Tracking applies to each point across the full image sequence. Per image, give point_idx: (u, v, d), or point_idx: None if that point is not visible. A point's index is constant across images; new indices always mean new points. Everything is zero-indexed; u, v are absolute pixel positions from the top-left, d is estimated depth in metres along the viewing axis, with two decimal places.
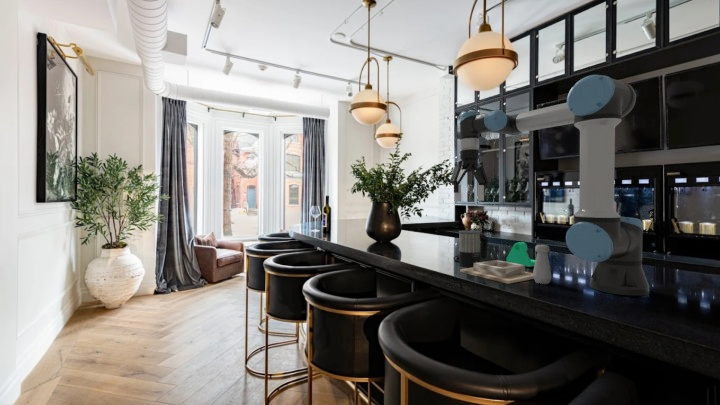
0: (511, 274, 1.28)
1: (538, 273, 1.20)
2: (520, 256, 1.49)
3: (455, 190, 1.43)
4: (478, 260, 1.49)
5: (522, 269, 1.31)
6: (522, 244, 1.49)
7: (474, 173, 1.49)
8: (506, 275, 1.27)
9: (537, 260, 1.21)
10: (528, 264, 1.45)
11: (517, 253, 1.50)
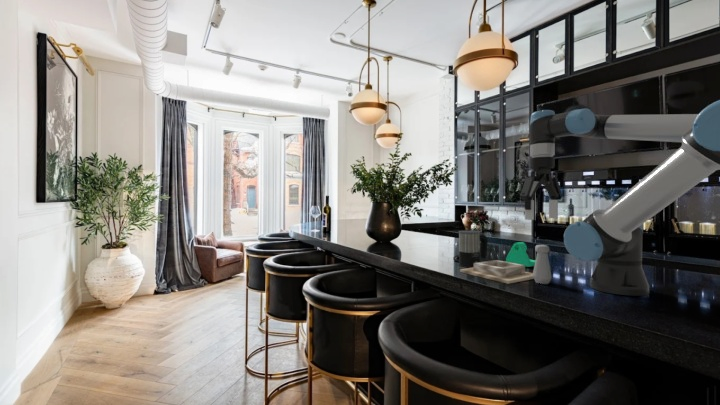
0: (511, 274, 1.28)
1: (538, 273, 1.20)
2: (519, 256, 1.49)
3: (527, 207, 1.17)
4: (478, 260, 1.49)
5: (522, 269, 1.31)
6: (521, 244, 1.49)
7: (546, 185, 1.23)
8: (506, 275, 1.27)
9: (537, 260, 1.21)
10: (527, 264, 1.45)
11: (516, 253, 1.50)
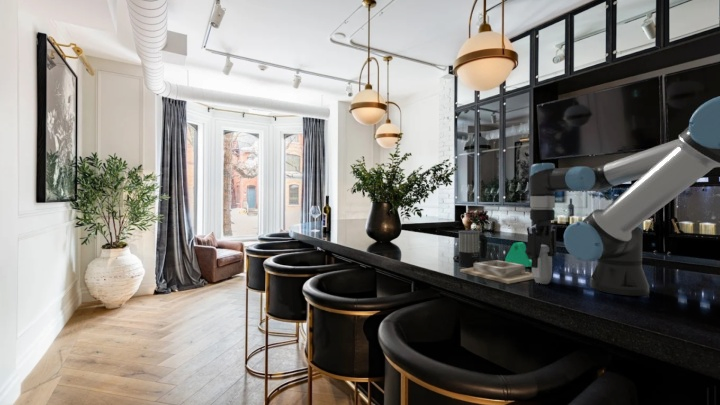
0: (511, 274, 1.28)
1: None
2: (519, 256, 1.48)
3: (534, 265, 1.19)
4: (478, 260, 1.49)
5: (522, 269, 1.31)
6: (521, 244, 1.49)
7: (544, 238, 1.23)
8: (506, 275, 1.27)
9: None
10: (526, 264, 1.45)
11: (516, 253, 1.50)
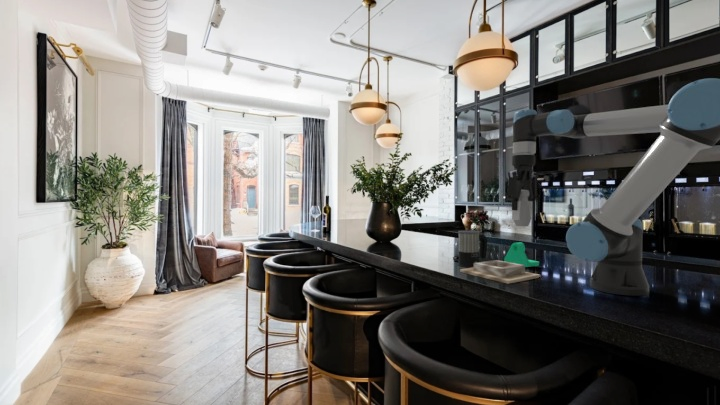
0: (511, 274, 1.28)
1: None
2: (518, 256, 1.48)
3: (514, 207, 1.24)
4: (477, 260, 1.49)
5: (522, 269, 1.31)
6: (520, 244, 1.49)
7: (525, 183, 1.28)
8: (506, 275, 1.27)
9: None
10: (525, 264, 1.45)
11: (515, 253, 1.50)
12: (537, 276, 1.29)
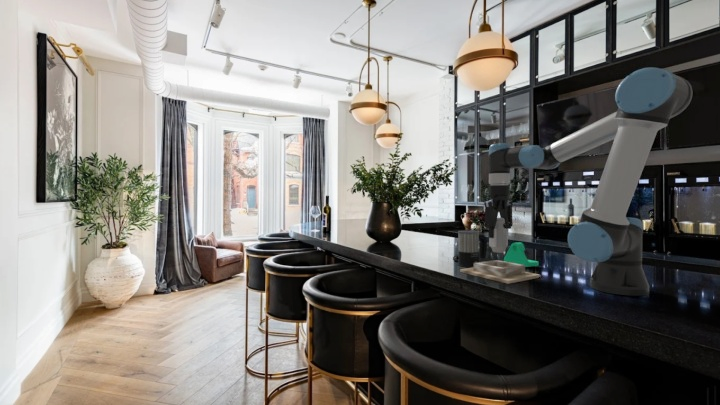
0: (511, 274, 1.28)
1: None
2: (517, 256, 1.48)
3: (490, 235, 1.32)
4: (477, 260, 1.49)
5: (522, 269, 1.31)
6: (519, 244, 1.49)
7: (501, 211, 1.35)
8: (506, 275, 1.27)
9: None
10: (525, 264, 1.44)
11: (514, 253, 1.49)
12: (537, 276, 1.29)
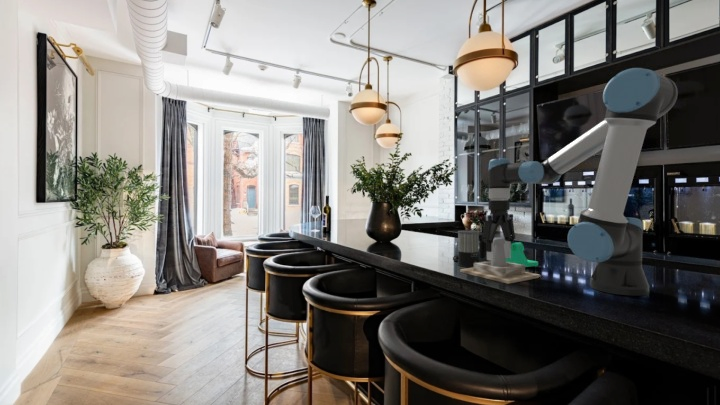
0: (511, 274, 1.28)
1: (494, 263, 1.33)
2: (517, 256, 1.48)
3: (488, 249, 1.31)
4: (477, 260, 1.49)
5: (522, 269, 1.31)
6: (519, 244, 1.48)
7: (502, 226, 1.36)
8: (506, 275, 1.27)
9: (494, 251, 1.34)
10: (524, 264, 1.44)
11: (514, 253, 1.49)
12: (537, 276, 1.29)
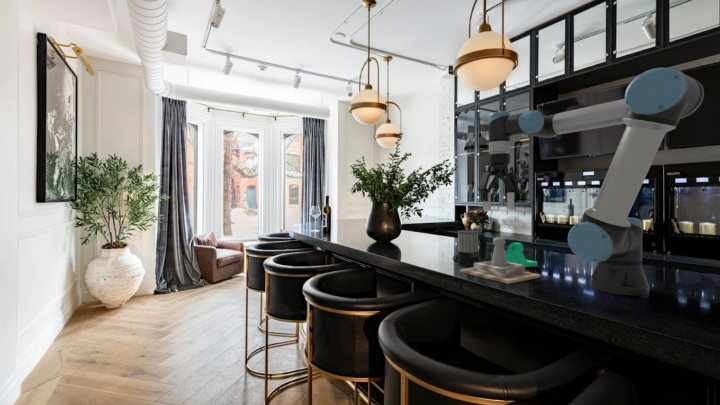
0: (511, 274, 1.28)
1: (494, 263, 1.33)
2: (516, 256, 1.48)
3: (484, 198, 1.30)
4: (477, 260, 1.50)
5: (522, 269, 1.31)
6: (518, 244, 1.48)
7: (504, 179, 1.36)
8: (506, 275, 1.27)
9: (494, 251, 1.34)
10: None
11: (513, 253, 1.49)
12: (537, 276, 1.29)
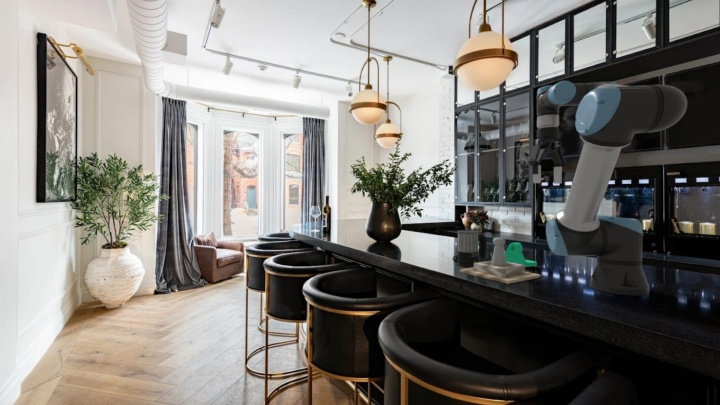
0: (511, 274, 1.28)
1: (494, 263, 1.33)
2: (515, 256, 1.48)
3: (534, 171, 1.32)
4: (476, 260, 1.50)
5: (522, 269, 1.31)
6: (517, 244, 1.48)
7: (551, 153, 1.38)
8: (506, 275, 1.27)
9: (494, 251, 1.34)
10: None
11: (512, 253, 1.49)
12: (537, 276, 1.29)
